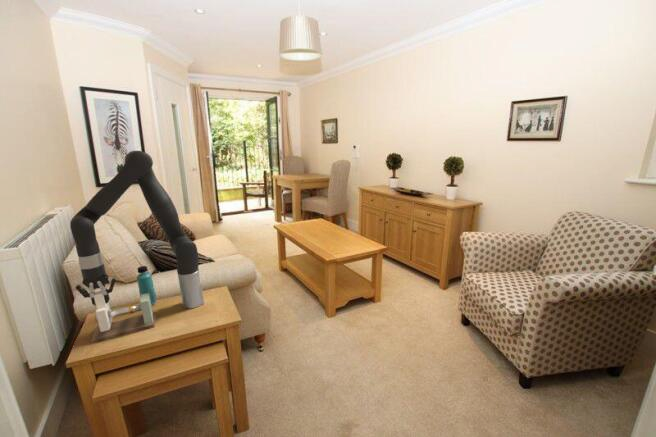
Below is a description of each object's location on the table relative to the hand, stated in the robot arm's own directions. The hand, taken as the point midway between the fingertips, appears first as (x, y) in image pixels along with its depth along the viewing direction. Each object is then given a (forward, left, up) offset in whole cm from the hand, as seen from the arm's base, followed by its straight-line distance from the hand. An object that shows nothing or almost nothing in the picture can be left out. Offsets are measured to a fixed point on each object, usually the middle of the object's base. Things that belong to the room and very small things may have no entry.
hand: (101, 303), depth 127 cm
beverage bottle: (-15, -17, -14) cm, 26 cm away
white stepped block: (0, 0, -10) cm, 10 cm away
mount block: (-15, 0, -12) cm, 19 cm away
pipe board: (-6, 0, -14) cm, 15 cm away
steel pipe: (-6, 0, -7) cm, 9 cm away
